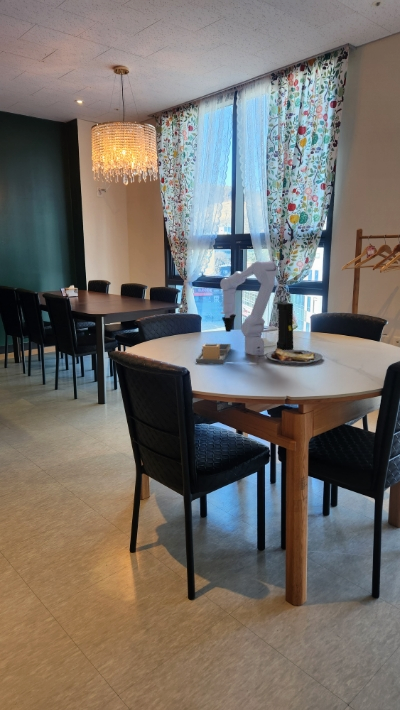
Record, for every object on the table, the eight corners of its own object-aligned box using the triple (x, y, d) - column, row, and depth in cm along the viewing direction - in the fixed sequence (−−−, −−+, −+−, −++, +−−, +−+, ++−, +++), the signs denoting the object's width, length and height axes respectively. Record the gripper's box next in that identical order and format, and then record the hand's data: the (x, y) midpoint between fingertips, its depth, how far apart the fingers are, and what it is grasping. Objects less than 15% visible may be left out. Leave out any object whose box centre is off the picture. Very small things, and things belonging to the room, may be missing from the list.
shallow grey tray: (201, 356, 223) (201, 351, 222) (227, 356, 221) (227, 352, 220) (195, 363, 209) (195, 359, 208) (223, 364, 206) (223, 359, 206)
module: (204, 357, 217) (204, 342, 216) (219, 357, 216) (219, 343, 214) (202, 359, 212) (202, 345, 211) (218, 359, 211) (218, 345, 210)
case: (206, 350, 236) (206, 343, 236) (230, 350, 234) (230, 344, 234) (201, 356, 223) (201, 349, 222) (227, 356, 221) (227, 349, 220)
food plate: (257, 362, 208) (257, 354, 207) (275, 352, 228) (275, 345, 227) (314, 369, 196) (315, 360, 196) (327, 358, 217) (328, 350, 216)
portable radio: (295, 349, 232) (296, 298, 227) (284, 351, 230) (285, 299, 225) (286, 347, 239) (287, 297, 234) (276, 348, 237) (276, 297, 232)
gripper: (222, 301, 241) (223, 327, 244) (218, 304, 227) (219, 332, 230) (236, 301, 239) (236, 328, 242) (233, 304, 226) (233, 332, 228)
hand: (229, 330), depth 236 cm, fingers open, 7 cm apart
